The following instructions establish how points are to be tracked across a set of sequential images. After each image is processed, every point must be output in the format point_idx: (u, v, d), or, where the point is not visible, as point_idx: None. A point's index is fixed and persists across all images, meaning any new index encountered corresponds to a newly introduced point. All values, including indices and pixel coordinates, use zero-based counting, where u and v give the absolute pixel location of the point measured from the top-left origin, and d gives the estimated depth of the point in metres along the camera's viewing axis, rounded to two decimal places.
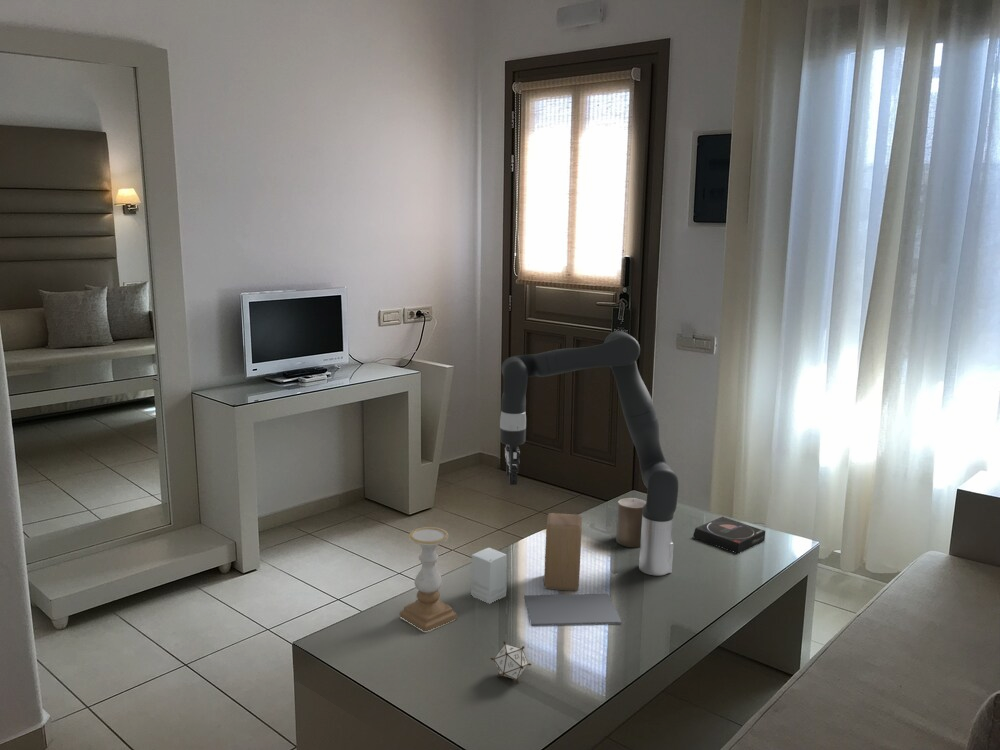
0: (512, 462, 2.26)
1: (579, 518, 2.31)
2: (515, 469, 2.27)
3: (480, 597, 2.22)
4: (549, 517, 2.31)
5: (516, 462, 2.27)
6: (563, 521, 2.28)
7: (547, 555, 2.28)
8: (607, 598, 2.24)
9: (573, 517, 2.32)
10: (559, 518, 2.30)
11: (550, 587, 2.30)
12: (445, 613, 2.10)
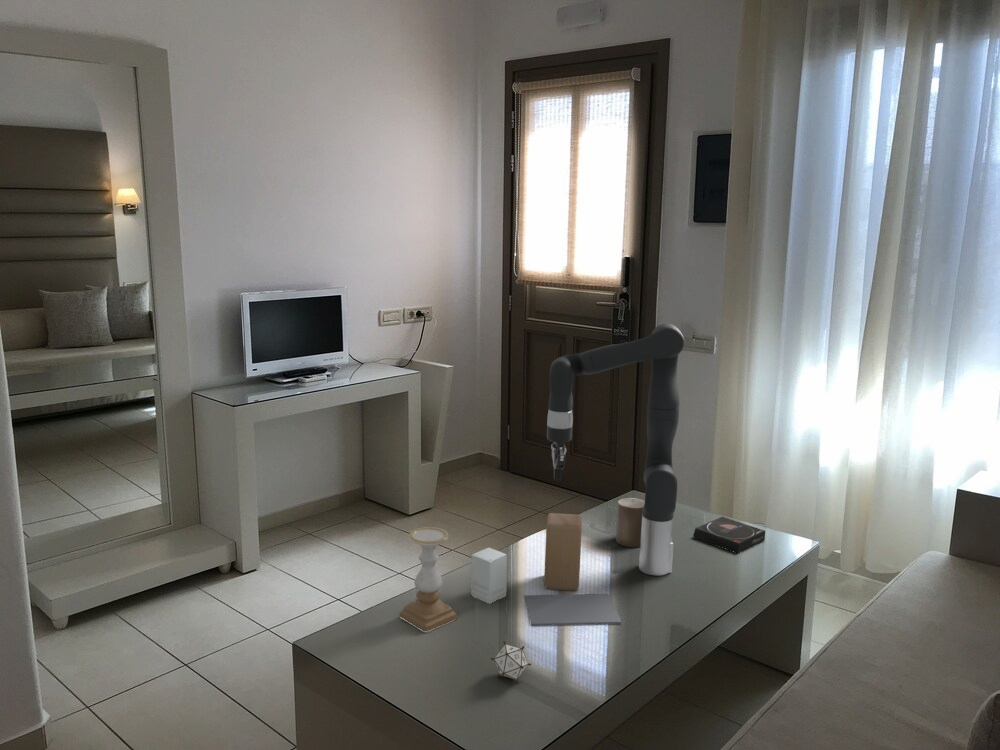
0: (558, 463, 2.36)
1: (579, 518, 2.31)
2: (560, 466, 2.38)
3: (480, 597, 2.22)
4: (549, 517, 2.31)
5: (562, 463, 2.36)
6: (563, 521, 2.28)
7: (547, 555, 2.28)
8: (607, 598, 2.24)
9: (573, 517, 2.32)
10: (559, 518, 2.30)
11: (550, 587, 2.30)
12: (445, 613, 2.10)
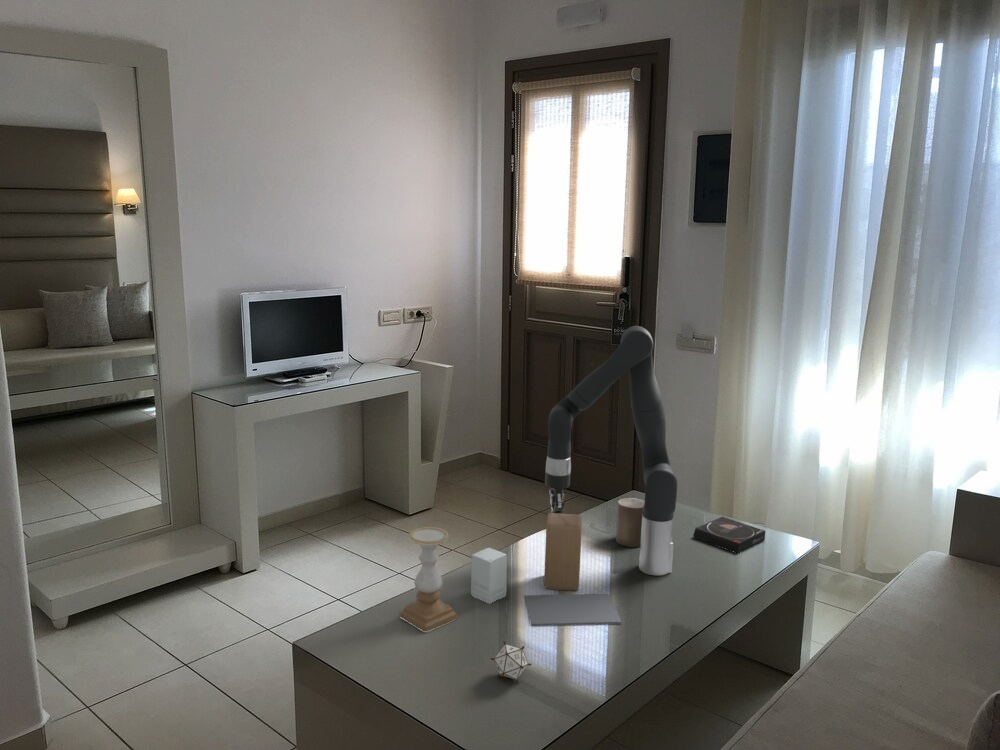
0: (556, 509, 2.40)
1: (579, 518, 2.31)
2: (558, 511, 2.41)
3: (480, 597, 2.22)
4: (549, 517, 2.31)
5: (560, 509, 2.40)
6: (563, 521, 2.28)
7: (547, 555, 2.28)
8: (607, 598, 2.24)
9: (573, 517, 2.32)
10: (559, 518, 2.30)
11: (550, 587, 2.30)
12: (445, 613, 2.10)
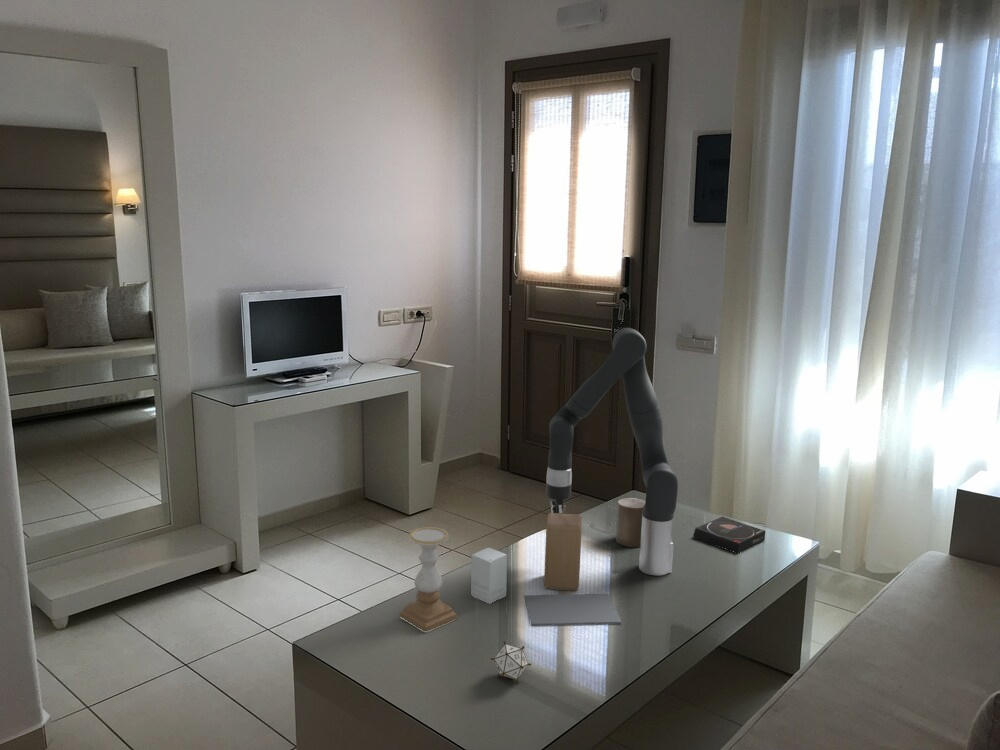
0: None
1: (579, 518, 2.31)
2: None
3: (480, 597, 2.22)
4: (549, 517, 2.31)
5: None
6: (563, 521, 2.28)
7: (547, 555, 2.28)
8: (607, 598, 2.24)
9: (573, 517, 2.31)
10: (559, 518, 2.30)
11: (550, 587, 2.30)
12: (445, 613, 2.10)
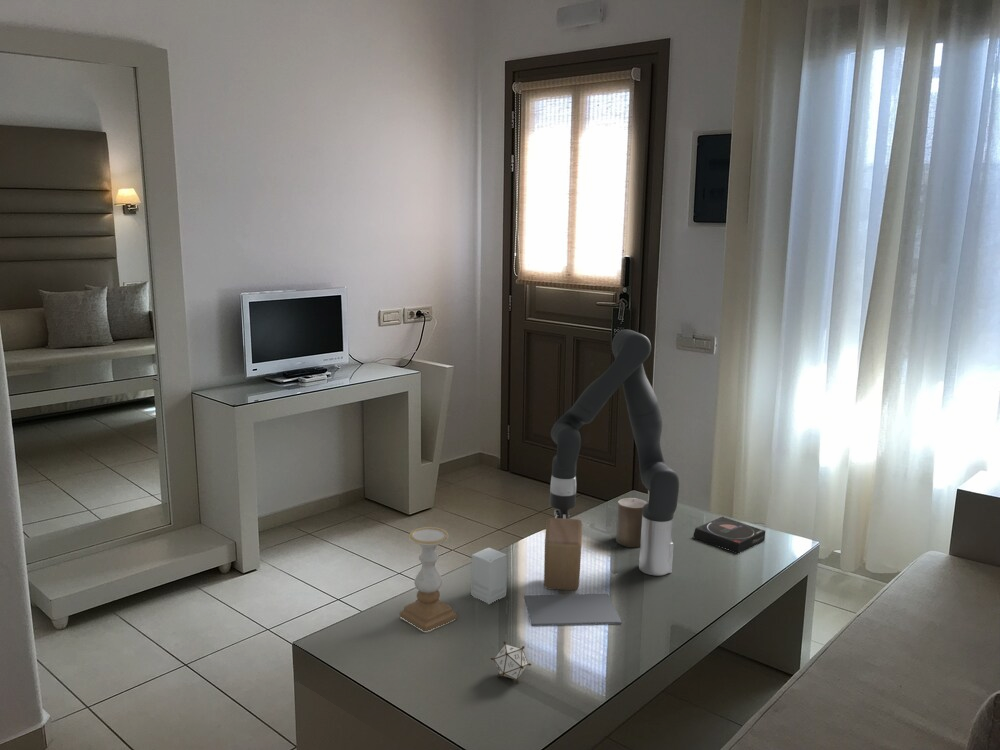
0: None
1: (579, 528, 2.22)
2: None
3: (480, 597, 2.22)
4: (548, 527, 2.22)
5: None
6: (563, 536, 2.20)
7: (546, 565, 2.24)
8: (607, 598, 2.24)
9: (573, 526, 2.22)
10: (558, 530, 2.22)
11: (550, 588, 2.29)
12: (445, 613, 2.10)
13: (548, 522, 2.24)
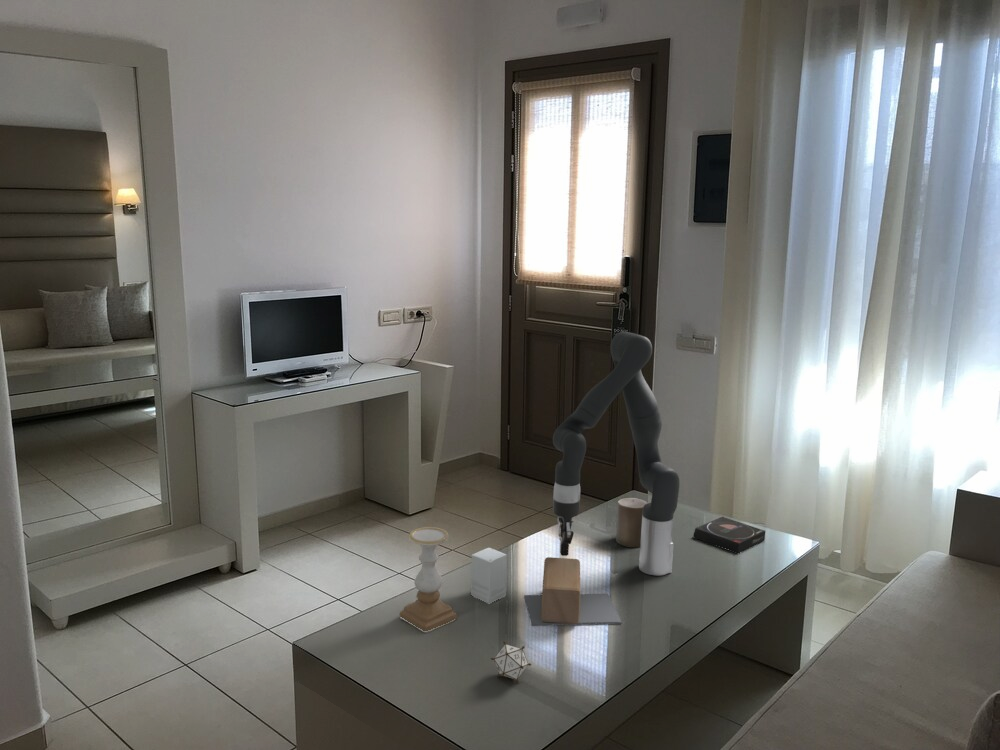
0: (565, 539, 2.24)
1: (577, 602, 2.08)
2: (567, 541, 2.26)
3: (480, 597, 2.22)
4: (544, 602, 2.09)
5: (569, 539, 2.24)
6: (560, 614, 2.09)
7: None
8: (607, 598, 2.24)
9: (571, 602, 2.08)
10: (554, 606, 2.09)
11: None
12: (445, 613, 2.10)
13: (544, 595, 2.09)
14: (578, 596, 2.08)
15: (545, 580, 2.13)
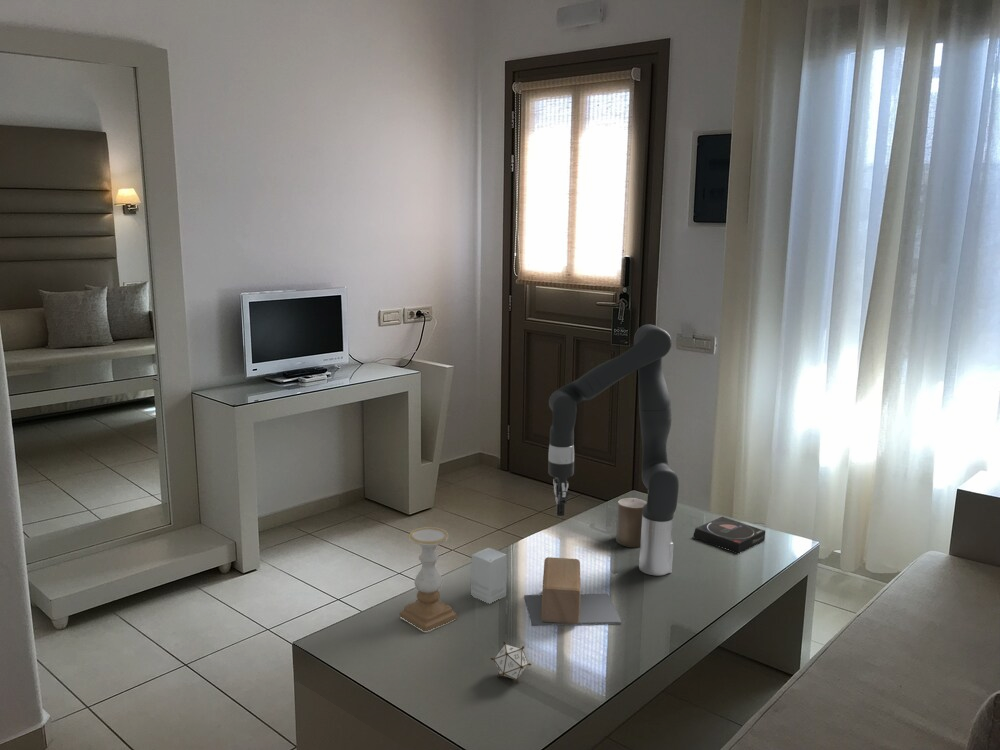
0: (560, 499, 2.32)
1: (577, 602, 2.08)
2: (563, 501, 2.33)
3: (480, 597, 2.22)
4: (544, 602, 2.09)
5: (564, 499, 2.32)
6: (560, 614, 2.09)
7: None
8: (607, 598, 2.24)
9: (571, 602, 2.08)
10: (554, 606, 2.09)
11: None
12: (445, 613, 2.10)
13: (544, 595, 2.09)
14: (578, 596, 2.08)
15: (545, 580, 2.13)
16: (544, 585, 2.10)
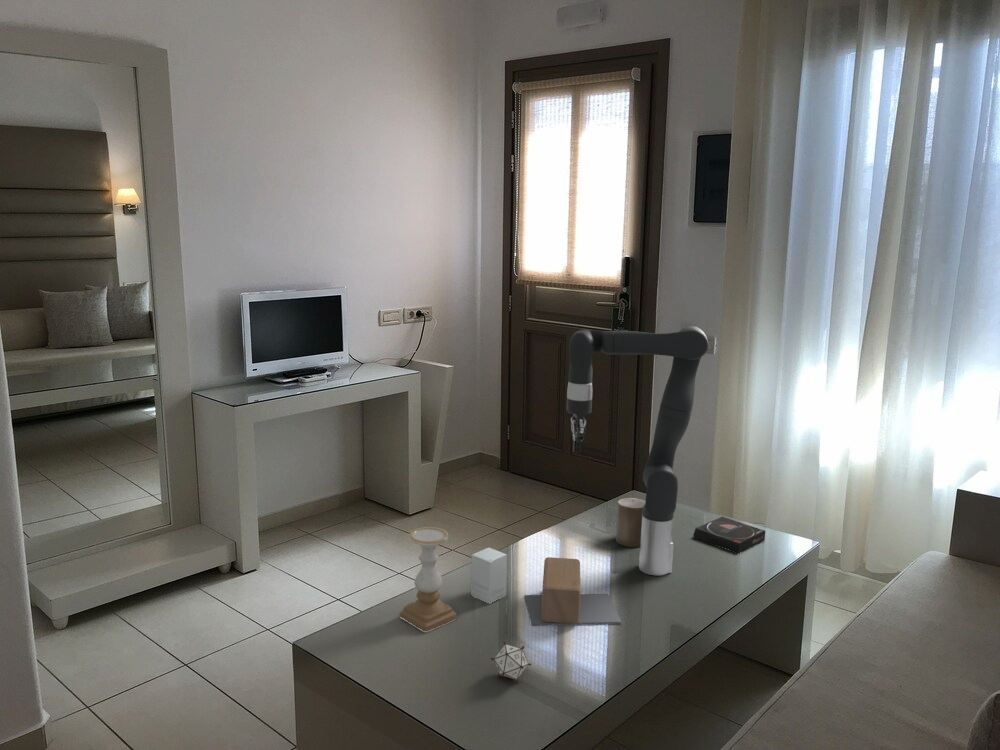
0: (578, 435, 2.38)
1: (577, 602, 2.08)
2: (580, 437, 2.39)
3: (480, 597, 2.22)
4: (544, 602, 2.09)
5: (582, 435, 2.38)
6: (560, 614, 2.09)
7: None
8: (607, 598, 2.24)
9: (571, 602, 2.08)
10: (554, 606, 2.09)
11: None
12: (445, 613, 2.10)
13: (544, 595, 2.09)
14: (578, 596, 2.08)
15: (545, 580, 2.13)
16: (544, 585, 2.10)
